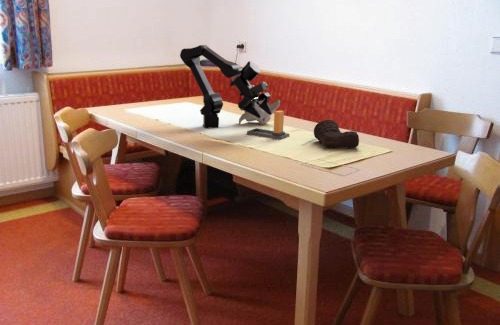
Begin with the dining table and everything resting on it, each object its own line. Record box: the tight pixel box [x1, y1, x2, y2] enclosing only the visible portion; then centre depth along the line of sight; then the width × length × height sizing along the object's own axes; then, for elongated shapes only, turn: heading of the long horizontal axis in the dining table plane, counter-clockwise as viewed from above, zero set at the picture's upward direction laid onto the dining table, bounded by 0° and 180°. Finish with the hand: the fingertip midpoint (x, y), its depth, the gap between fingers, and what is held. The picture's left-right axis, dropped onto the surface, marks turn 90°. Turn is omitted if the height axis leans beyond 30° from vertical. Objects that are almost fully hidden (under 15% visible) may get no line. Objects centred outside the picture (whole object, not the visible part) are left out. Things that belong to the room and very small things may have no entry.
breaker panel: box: [246, 127, 290, 141], centre depth 211 cm, size 18×12×2 cm, turn 57°
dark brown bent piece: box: [313, 119, 360, 149], centre depth 199 cm, size 10×15×15 cm
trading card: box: [300, 161, 361, 177], centre depth 170 cm, size 11×1×18 cm
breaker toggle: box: [271, 110, 286, 136], centre depth 206 cm, size 4×5×11 cm
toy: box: [238, 96, 281, 125], centre depth 232 cm, size 8×15×20 cm
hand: (265, 115), depth 209 cm, fingers open, 9 cm apart
